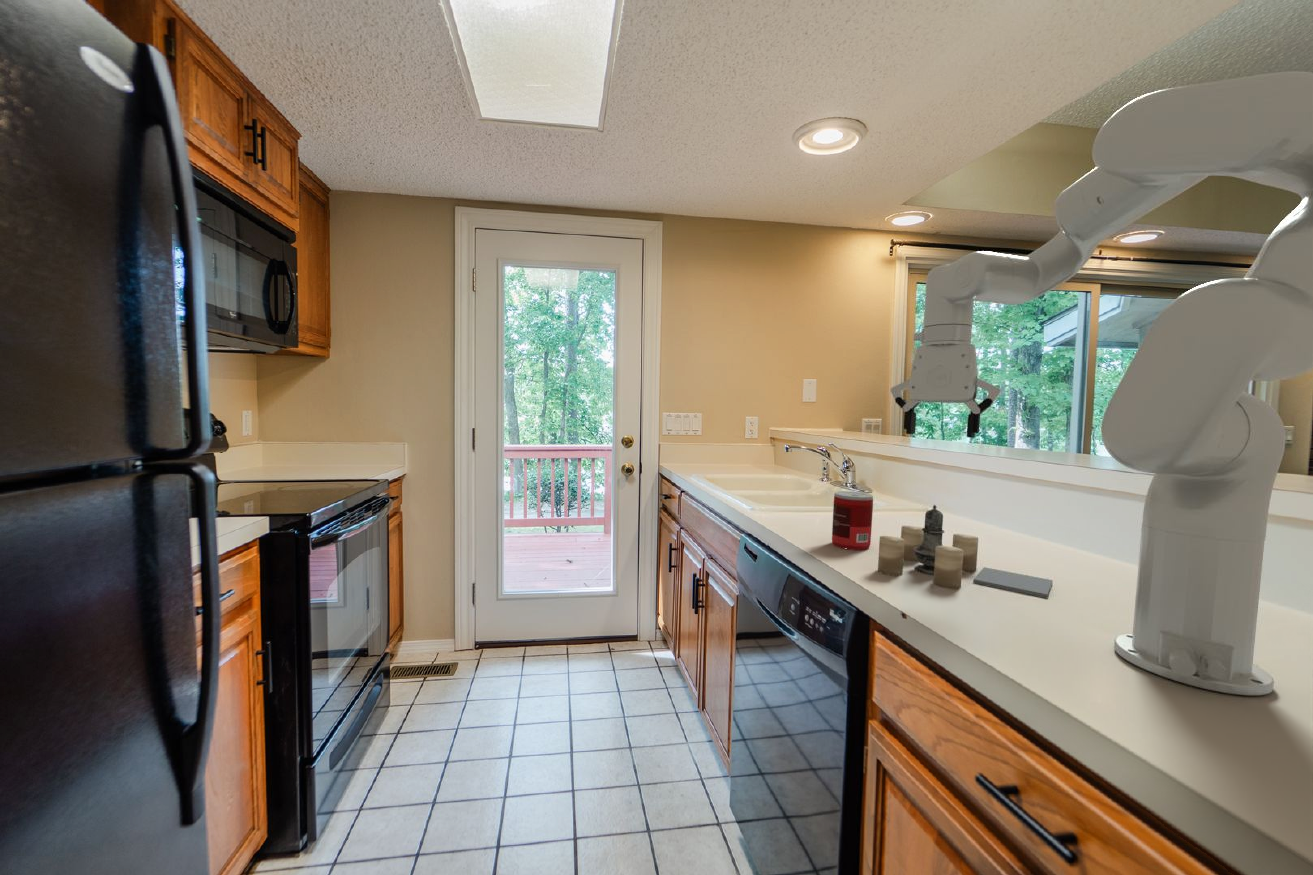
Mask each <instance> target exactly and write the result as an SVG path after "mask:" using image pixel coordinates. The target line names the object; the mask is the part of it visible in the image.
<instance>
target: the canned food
mask: <svg viewBox="0 0 1313 875" xmlns="http://www.w3.org/2000/svg"><path fill="white" fill-rule="evenodd" d="M873 508H874V495H873V494H870V493H865V492H859V491H848V490H847V491H845V490H844V491H841V490H840V491H835V492H834V496H833V513H832V528H831V531H832V532H831V542H832V545H833V544H834V546H835V547H836V546H837V548H839V547H840V549H843V548H847V549H846V550H849V549H853V550H852V551H865V549H866V550H868V549H869V548H870V546H871V543H872V542H871V541H872V526H873V510H874V509H873ZM854 549H855V550H854Z"/></svg>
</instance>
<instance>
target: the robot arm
mask: <svg viewBox="0 0 1313 875" xmlns="http://www.w3.org/2000/svg"><path fill="white" fill-rule="evenodd" d="M1091 152H1092V153H1091V157H1092V161H1093V162H1094V165H1095V167H1094V169H1092V170H1091V171H1090V172H1088V173H1086V174H1084V176H1082V177H1081V178H1079V179H1078V180H1076V181H1075V182H1074V183H1072V184H1070V186H1068V187H1067V188H1065V189H1064V190H1063V191H1062V192H1060V193H1059V194H1058V196H1057V198H1056V199H1055V200H1054V205H1053V210H1054V217H1055V221H1056V223H1057V225H1058V226H1059V228H1060V230H1059V232H1058V233H1057V234H1056V235H1055V236H1053V237H1052V238H1051V239H1050V240H1049V241H1047V242H1046V243H1044V244H1043V245H1042V246H1040V247H1039V248H1037V249H1035V250H1033V251H1032V252H1031V253H1029V254H1027V255H1026V256H1019V255H1014V254H1013V255H1012V254H1006V253H1000V252H999V253H998V252H993V251H987V250H986V251H984V250H982V251H979V250H978V251H973V252H971V253H970V252H969V253H968V254H965V255H964V256H962V257H960V258H959V259H957V260H955V261H953V262H952V263H948V264H943V265H939V266H936V267H934V268H932V269H930V270H929V272H928V274H927V276H926V280H925V282H926V283H925V297H924V310H923V328H921V331H920V332H918V333H914V334H913V340H914V342H920V344H921V345H917V346H916V349H915V352H914V355H913V359H912V364H911V371H910V376H909V379H907V380H905V381H903V382H901V383H899V384H897V385H894V386H892V387H890V393H891V395H892V397H893V398H894V400H895V403H896V405H898V406H899V408H901V410H902V411H903V412H904V418H903V429H904V430H905V433H906V435H913V434H916V425H917V423H916V422H917V413H916V411H915V409H916V408H917V407H918V406H919V405H920V404H921V403H941V404H942V403H945V404H946V403H947V404H949V403H952V404H965V406H966V407H967V408H968V409H969V410H970V413H969V414H968V415H967V425H966V426H967V427H966V428H967V429H966V437H967V438H975V437H976V434H978V433H979V432H980V424H981V422H980V421H981V415H982V414H983V413H984V412H985V411H986V410H988V409H989V408H990V407H991V406H993V405H994V403H995V401H996V400H997V398H998V397H999V396H1000V394H1001V392H1002V389H1001V388H1000V387H997V386H996V385H994V384H992V383H990V382H987V381H985V380H983V379H981V378H978V360H977V350H976V345H975V344H973V343H971V342H972V333H973V332H972V331H973V318H974V317H973V316H974V304H975V302H983V303H994V304H999V305H1009V306H1016V305H1021V304H1026V303H1028V302H1030V301H1033V300H1036V299H1037V298H1040V297H1041V296H1043V295H1045V294H1046V293H1048V292H1050V291H1052V290H1054V289H1056V288H1057V287H1059V286H1061V285H1062V284H1065V283H1066V282H1067V281H1069V280H1070V279H1072V278H1073V277H1074V276H1075V275H1076V274H1078V272H1079V271H1080V270H1082V268H1083V267H1084V266H1085V265H1086V264H1087V262H1088V261H1089V260H1090V259H1091V258H1092V256H1093V255H1094V253H1095V252H1096V250H1097V248H1098V246H1099V244H1100V243H1102V242H1103V241H1104V240H1105V239H1108V238H1110V237H1111V236H1112V235H1114V234H1116V233H1117V232H1119V231H1120V230H1122V229H1124V228H1125V227H1127V226H1129V225H1130V224H1132V223H1133V222H1135V221H1138V220H1139V219H1140V218H1142V217H1144V216H1146V215H1147V214H1148V213H1150V212H1152V211H1153V210H1155V209H1157V208H1159V207H1160V206H1162V205H1164V204H1165V203H1167V202H1168V201H1170V200H1172V199H1174V198H1176V197H1177V196H1179V195H1181V194H1182V193H1183V192H1185V191H1188V190H1189V189H1191V188H1192V187H1194V186H1196V185H1197V184H1199V183H1200V182H1202V181H1203V180H1205V179H1207V178H1208V177H1209V176H1220V177H1221V176H1223V177H1233V178H1237V179H1241V180H1245V181H1248V182H1252V183H1255V184H1256V183H1257V184H1259V185H1263V186H1269V187H1272V188H1278V189H1281V190H1285V191H1289V192H1290V193H1291V192H1292V193H1294V194H1297V195H1299V196H1300V198H1301V202H1300V204H1298V206H1297V207H1296V208H1295V209H1294V210H1292V211H1291V213H1289V214H1288V215H1287V216H1286V217H1285V218H1284V219H1283V220H1282V221H1281V222H1280V223H1279V224H1278V225H1277V226H1276V228H1274V230H1273V231H1272V232H1271V233H1270V235H1269V236H1268V237H1267V238H1266V240H1265V242H1264V243H1263V245H1262V247H1261V249H1260V251H1259V252H1258V254H1257V256H1256V258H1255V260H1254V261H1253V263H1252V265H1251V266H1249V269H1248V271H1247V272H1246V274H1245V275H1244V276H1243V277H1232V278H1223V279H1217V280H1213V281H1210V282H1206V283H1204V284H1200V285H1198V286H1196V287H1193V288H1192V289H1189V290H1188V291H1185V292H1184V293H1182V294H1181V295H1179V296H1178V297H1177V298H1175V299H1174V300H1173V301H1172V302H1170V304H1169V305H1167V306H1166V308H1164V310H1162V311H1161V312H1160V313H1159V315H1158V316H1157V317H1156V319H1155V320H1154V321H1153V322H1152V324H1151V326H1150V327H1149V329H1148V330H1147V332H1146V335H1145V336H1144V338H1143V339H1142V341H1141V343H1140V345H1139V346H1138V348H1137V351H1136V352H1135V354H1134V356H1133V358H1132V359H1131V362H1130V364H1128V367H1127V369H1126V370H1125V372H1124V375H1123V376H1122V378H1121V380H1120V381H1119V384H1118V385H1117V387H1116V389H1115V390H1114V393H1113V394H1112V396H1111V398H1110V401H1108V404H1107V406H1106V408H1105V411H1104V414H1103V418H1102V421H1101V434H1100V435H1101V440H1102V443H1103V445H1104V448H1105V450H1106V451H1107V453H1108V454H1109V455H1110V456H1111V458H1113V459H1114V460H1115V461H1116V462H1118V463H1119V464H1120V465H1122V466H1124V467H1126V468H1129V469H1131V470H1135V471H1138V472H1141V473H1148V474H1154V475H1153V477H1152V479H1151V481H1150V484H1149V487H1148V490H1147V492H1146V496H1145V499H1144V505H1143V514H1142V522H1141V529H1140V543H1139V552H1138V553H1139V554H1138V556H1139V557H1138V568H1137V578H1136V588H1135V590H1136V591H1135V600H1134V601H1135V602H1134V614H1133V615H1134V616H1133V625H1132V626H1133V627H1132V633H1127V634H1125V633H1124V634H1121V635H1118V636H1117V637H1115V639H1114V642H1113V643H1114V644H1113V645H1114V646H1113V648H1114V650H1115V652H1116V653H1117V654H1118V655H1119V657H1122V658H1123V659H1125V660H1126V661H1128V662H1130V663H1131V664H1133V665H1134V666H1137V667H1138V668H1141V669H1143V670H1145V671H1148V672H1149V673H1152V674H1155V675H1158V676H1160V677H1163V678H1166V679H1169V680H1172V681H1175V682H1178V683H1181V684H1184V685H1189V686H1192V687H1196V688H1200V689H1205V690H1209V691H1214V692H1218V693H1225V694H1229V695H1230V694H1231V695H1239V696H1249V697H1250V696H1251V697H1252V696H1263V695H1264V696H1265V695H1269V694H1271V693H1272V692H1274V691H1273V690H1274V684H1275V680H1274V678H1273V677H1272V675H1271V674H1270V673H1268V672H1267V671H1266V670H1265V669H1263V668H1262V667H1260V666H1257V665H1256V664H1254V663H1253V662H1254V652H1255V642H1256V635H1257V634H1256V632H1257V622H1258V614H1259V612H1258V611H1259V610H1258V609H1259V603H1260V602H1259V600H1260V592H1261V582H1262V581H1261V580H1262V573H1263V571H1262V570H1263V569H1262V568H1263V561H1264V550H1265V541H1266V537H1267V536H1266V535H1267V526H1268V518H1269V509H1270V504H1271V503H1270V502H1271V498H1272V493H1273V488H1274V485H1275V481H1276V478H1277V475H1278V472H1279V470H1280V467H1281V466H1280V465H1281V463H1282V460H1283V456H1284V452H1285V449H1286V448H1285V447H1286V440H1287V436H1286V429H1285V426H1284V422H1283V420H1282V418H1281V416H1280V414H1279V413H1278V412H1277V411H1276V410H1275V408H1273V406H1272V405H1270V404H1269V403H1268V402H1266V401H1265V400H1263V399H1262V398H1260V397H1258V396H1256V395H1253V394H1252V393H1248V392H1246V391H1245V389H1246V388H1248V385H1249V384H1250V382H1253V381H1255V382H1256V381H1257V382H1258V381H1259V382H1273V381H1274V382H1275V381H1284V380H1289V379H1293V378H1296V377H1299V376H1301V375H1302V376H1303V375H1305V374H1307V373H1309V372H1310V371H1312V370H1313V72H1309V71H1299V70H1298V71H1297V70H1292V71H1279V72H1270V73H1262V74H1256V75H1249V76H1242V77H1236V78H1230V79H1223V80H1217V81H1209V82H1203V83H1196V84H1188V85H1183V86H1176V87H1171V88H1170V87H1169V88H1165V89H1159V90H1156V91H1154V92H1150V93H1146V94H1144V95H1141V96H1140V97H1137V98H1135V99H1133V100H1131V101H1130V102H1128V103H1127V104H1125V105H1124V106H1122V107H1121V108H1120V109H1118V110H1117V111H1116V112H1114V113H1113V114H1112V115H1111V117H1109V118H1108V119H1107V120H1106V122H1105V123H1104V124H1103V125H1102V126H1101V128H1100V130H1098V133H1097V135H1096V137H1095V139H1094V142H1093V145H1092V149H1091ZM978 388H979V389H982V390H983V391H984V390H985V391H987V396H986V397H985V399H984V400H982V401H981V402H979V403H978V402H977V401H976V399H977V393H978ZM907 389H908V397H909V400H908V401H907V400H906V399H905V398H904V397H903V394H902V393H903V391H906V390H907Z"/></svg>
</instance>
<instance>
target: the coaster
mask: <svg viewBox="0 0 1313 875" xmlns="http://www.w3.org/2000/svg"><path fill="white" fill-rule="evenodd" d="M972 582H973V584H978V585H983V586H987V587H992V588H997V589H1002V590H1005V591H1009V592H1010V591H1011V592H1016V593H1020V594H1025V595H1029V596H1030V595H1031V596H1035V597H1040V598H1045V599H1048V597H1049V594H1050V593H1051V588H1052V586H1053V580H1052V579H1048V578H1042V577H1038V576H1032V575H1026V574H1022V573H1018V572H1017V573H1016V572H1010V571H1005V570H1000V569H996V568H992V567H991V568H990V567H986V566H985V567H982V568H981V570H980V571H979V572H978V573H977V575H976V576H974V578H973V581H972Z"/></svg>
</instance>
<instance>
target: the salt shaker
mask: <svg viewBox="0 0 1313 875" xmlns="http://www.w3.org/2000/svg"><path fill="white" fill-rule="evenodd" d="M943 522H944V514H943V513H942V511H940V510H939V509H937V505H936V504H933V506H932V508H931V509H928V510H927V511H926V512H925V516H924V527H921V528H922V530H923V531H924V535H923V542H922V545H921V546H920V547H916V548H914V551H915V555H916V558H917V560H918V561H917V562H919V563H920V564H918V565H916V566H914V568H913V569H914V570H915V571H916V572H919V573H921V574H924V575H929V574H930V575H931V576H934V565H935V549H936V546H943V534H945V530H943V525H944V524H943Z"/></svg>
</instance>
